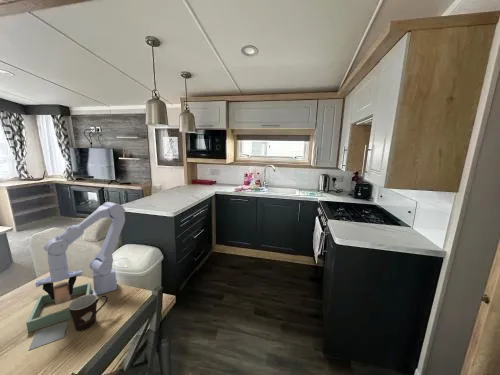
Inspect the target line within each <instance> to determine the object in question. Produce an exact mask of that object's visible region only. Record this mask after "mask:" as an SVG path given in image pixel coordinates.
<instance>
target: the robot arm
mask: <svg viewBox="0 0 500 375" xmlns="http://www.w3.org/2000/svg"><path fill="white" fill-rule="evenodd" d="M125 212H126V208H124V207H123V205H122V204H120V203H115V202H112V201H106V202H104V203H102V205H99V206H98V207H97V209H96V210H93V212H92V213H91V214H90V215H88V216H87V217H85V219H83V220H82V221H81V222H79V223H78V224H74V225H73V224H72V225H71V226H68V227H66V230H64V231H63V232H61V233H60V234H59V235H56V236H54V238H52V239H49V240H48V241H46V243H45V245H44V246H43V250H44V251H45V252H47V253H46V254H47V264H48V270H49V276H48V277H45V278H41V279H40V280H36V281H35V288H39V287H41V286H42V290H43V291H45V293H46V294H49V295H50V297H51V299H52V300H53V299H54V292H53V287H54V286H55V285H54V283H57V282H59V283H60V282H63V281H65V280H68V281H67V282H68V283H69V288H70V295H71V294H72V293H73V287H75V286H74V285H75V284H76V281H77V278H78V277H82V276H83V269H81V270H75V271H73V270H72V271H70V270H69V264H68V258H67V250H68V247H69V246H70V245H72V244H73V243H74V242H75V241H76V240H78V239H79V238H80V237H81V236H83V235H84V232H85V231H86V229H88V228H89V227H90V226H92V225H94V224H95V223H97V222H98V221H99V220H101V219H106V218H109V219H110V220H111V223H110V226H109V229H108V231H107V233H106V236H105V237H104V238H105V239H104V241H103V244H102V246H101V248H100V251H99V252H98V253H97V254H95V256H94V258H93V259H92V261H91V262H90V264H89V268H90V270H92V271H93V272H92V280H93V292H92V294H93V295H96V296H99V295H102V294H105V293H109V292H112V291H115V290H117V284H118V280H117V276H116V269H113V262H114V258H113V252H114V251H115V248H116V246H117V244H118V241H119V238H120V234H121V233H122V230H123V228H124V226H125V222H126V214H125Z"/></svg>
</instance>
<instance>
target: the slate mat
mask: <svg viewBox="0 0 500 375" xmlns="http://www.w3.org/2000/svg"><path fill="white" fill-rule="evenodd" d="M67 325H68V321H67V320H65V321H62V322H59V323H56V324H55V325H54V324H53V325H50V326H47V327H46V328H45V327H44V328H43V329H42V328H41V329H40V330H39V329H38V330H37V331H36V330H35V334H34V335H33V338H32V341H31V343H30V345H29V348H28V351H31V350H34V349H36V348H40V347H42V346H44V345H45V346H46V345H48V344H51V343H54V342H56V341H59V340H61V339H64V338H65V333H66V332H67V331H66V330H67V327H68V326H67Z"/></svg>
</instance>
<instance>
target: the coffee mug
mask: <svg viewBox="0 0 500 375" xmlns="http://www.w3.org/2000/svg"><path fill="white" fill-rule="evenodd" d="M102 298H105V301H104V302H103V304H102V305H101V306H100V307H99V308H98V309H97V306H98V302H99V300H100V299H102ZM108 301H109V296H107V295H101V296H100V297H98V295H93V293H91V294H90V295H86V294H85V295H81V296H79V297H77V298H75V299H74V300H72V301H71V302H70V303H69V305H68V308H69V310H70V314H71V317H72V318H71V320H72V323H73V326H74V329H75V331H77V332H83V331H86V330H88V329H90V328H92V327H93V326H94V325H95V323H96V321H97V313H98V312H99V311H100V310H101V309H102V308H103V307H104V306H105V305H106V303H107V302H108Z"/></svg>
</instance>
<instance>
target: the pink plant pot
mask: <svg viewBox="0 0 500 375" xmlns="http://www.w3.org/2000/svg"><path fill="white" fill-rule="evenodd" d="M53 286H54V287H53V292H54V299H55V301H54V304H55V305H63V304H65V303H67V302H68V301H70V300H71V298H72V296H71V295H70V288H69V283H68V281H60V282H59V283H56V284H54V285H53Z"/></svg>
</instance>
